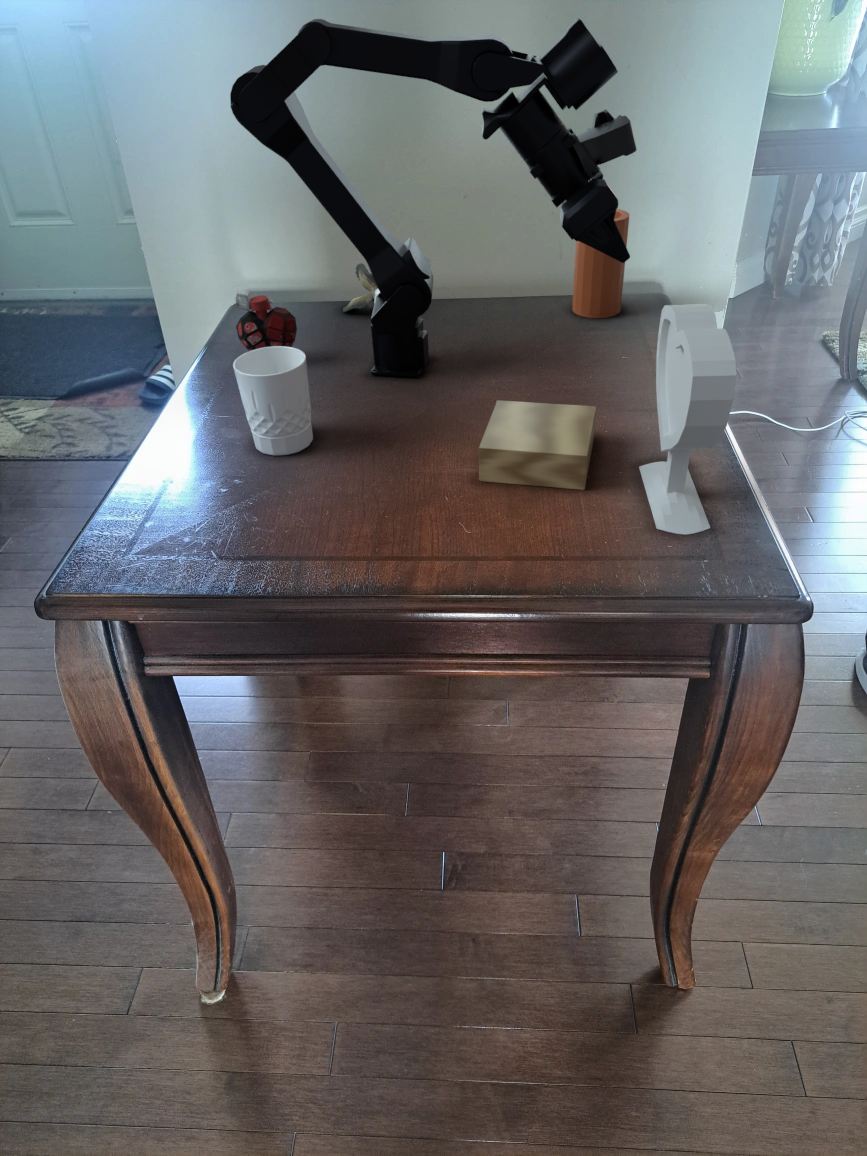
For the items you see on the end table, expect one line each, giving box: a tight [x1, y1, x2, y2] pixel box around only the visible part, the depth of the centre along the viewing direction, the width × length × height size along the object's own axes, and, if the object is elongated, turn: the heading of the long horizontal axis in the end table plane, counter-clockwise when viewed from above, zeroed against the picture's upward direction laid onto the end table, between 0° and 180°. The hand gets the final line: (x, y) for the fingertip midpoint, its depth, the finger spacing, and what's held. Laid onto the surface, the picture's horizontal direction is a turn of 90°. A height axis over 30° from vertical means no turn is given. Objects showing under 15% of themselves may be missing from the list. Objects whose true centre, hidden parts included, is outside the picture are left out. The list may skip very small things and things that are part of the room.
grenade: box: [235, 289, 298, 352], centre depth 111 cm, size 5×8×10 cm, turn 99°
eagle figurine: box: [342, 262, 380, 312], centre depth 127 cm, size 8×7×9 cm
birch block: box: [478, 399, 597, 491], centre depth 89 cm, size 11×11×4 cm
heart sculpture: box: [638, 303, 737, 536], centre depth 78 cm, size 16×5×18 cm, turn 177°
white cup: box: [232, 346, 314, 456], centre depth 93 cm, size 8×8×10 cm
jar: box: [571, 208, 630, 319], centre depth 120 cm, size 7×7×14 cm
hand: (620, 248), depth 101 cm, fingers open, 9 cm apart
